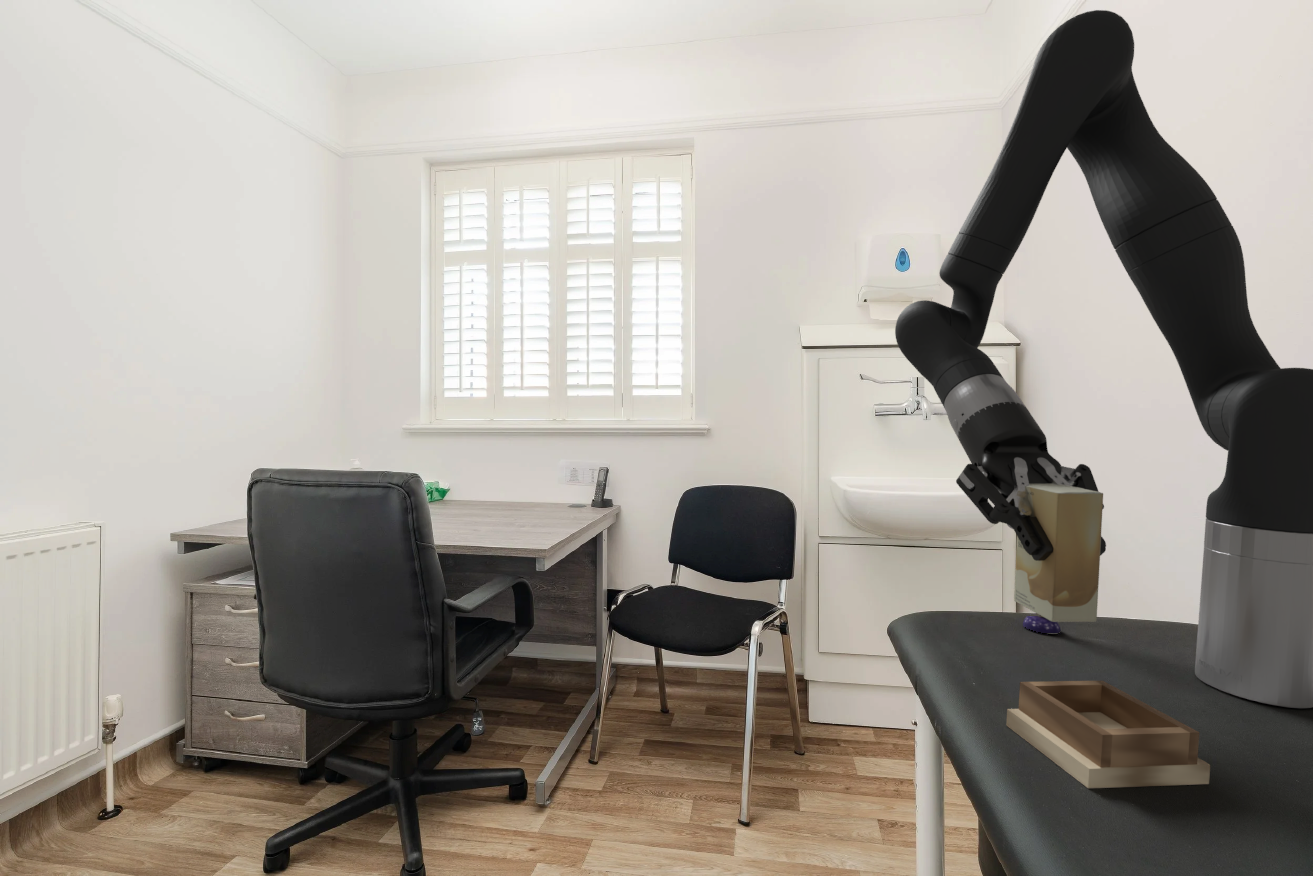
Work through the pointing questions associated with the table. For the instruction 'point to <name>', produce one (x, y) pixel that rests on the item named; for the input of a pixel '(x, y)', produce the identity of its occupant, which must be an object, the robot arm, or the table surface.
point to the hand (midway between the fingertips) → (1071, 555)
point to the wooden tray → (1106, 735)
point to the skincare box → (1062, 554)
